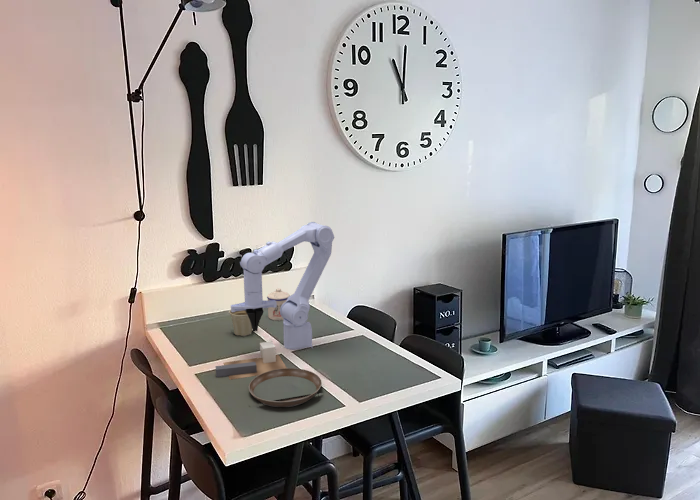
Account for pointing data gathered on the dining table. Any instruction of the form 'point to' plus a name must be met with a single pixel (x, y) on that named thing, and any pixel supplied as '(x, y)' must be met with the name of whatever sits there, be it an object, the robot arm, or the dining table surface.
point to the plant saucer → (286, 372)
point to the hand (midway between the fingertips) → (254, 330)
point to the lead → (236, 369)
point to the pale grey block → (268, 352)
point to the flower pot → (241, 323)
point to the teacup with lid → (280, 299)
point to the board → (258, 366)
